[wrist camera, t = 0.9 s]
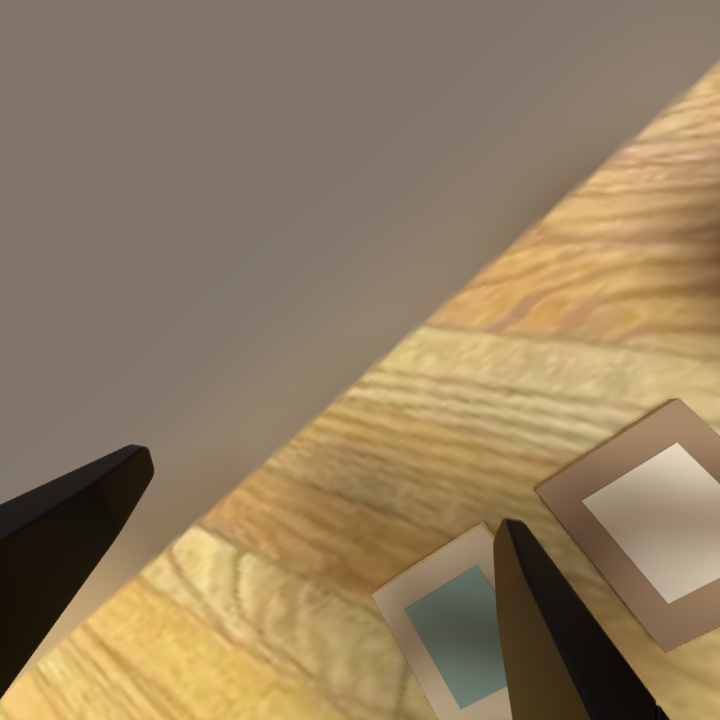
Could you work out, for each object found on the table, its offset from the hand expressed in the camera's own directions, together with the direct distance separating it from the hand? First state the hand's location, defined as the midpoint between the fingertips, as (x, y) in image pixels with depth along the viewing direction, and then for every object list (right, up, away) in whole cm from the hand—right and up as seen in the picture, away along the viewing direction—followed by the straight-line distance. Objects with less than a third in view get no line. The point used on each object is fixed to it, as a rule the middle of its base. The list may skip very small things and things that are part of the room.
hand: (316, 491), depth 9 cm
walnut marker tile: (+14, -3, +6) cm, 16 cm away
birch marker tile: (+6, -10, +8) cm, 14 cm away
